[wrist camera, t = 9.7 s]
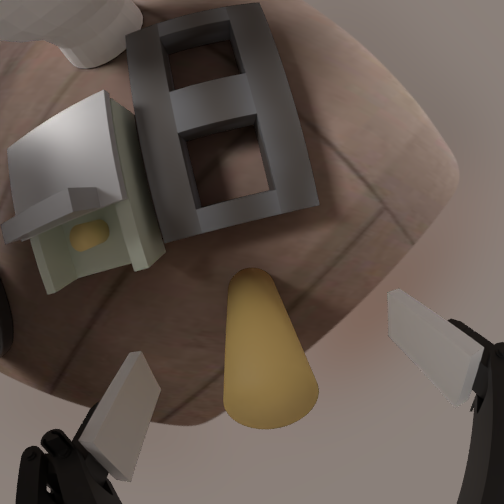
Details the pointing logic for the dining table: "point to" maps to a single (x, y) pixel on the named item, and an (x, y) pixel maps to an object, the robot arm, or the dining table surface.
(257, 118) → the peg board
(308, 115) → the dining table surface
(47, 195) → the lid
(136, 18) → the cup
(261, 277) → the peg
